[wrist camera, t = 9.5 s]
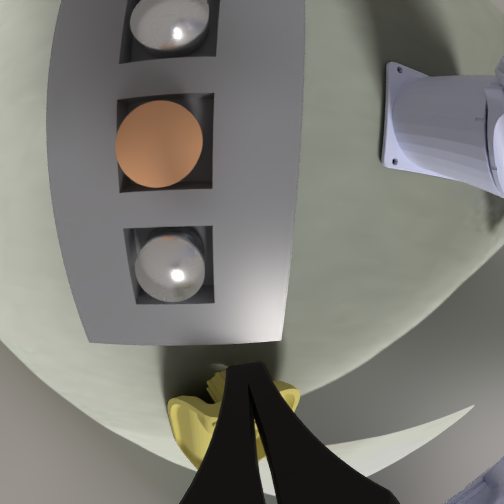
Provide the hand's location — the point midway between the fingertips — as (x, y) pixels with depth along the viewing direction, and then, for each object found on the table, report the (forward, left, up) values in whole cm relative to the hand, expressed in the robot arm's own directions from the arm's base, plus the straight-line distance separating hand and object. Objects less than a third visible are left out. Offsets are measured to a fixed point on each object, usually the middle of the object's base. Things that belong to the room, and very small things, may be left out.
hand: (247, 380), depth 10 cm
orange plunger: (+3, -8, -8) cm, 12 cm away
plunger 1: (+3, -15, -9) cm, 18 cm away
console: (+3, -8, -10) cm, 14 cm away
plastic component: (0, +18, -11) cm, 21 cm away
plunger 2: (+4, -1, -9) cm, 10 cm away
